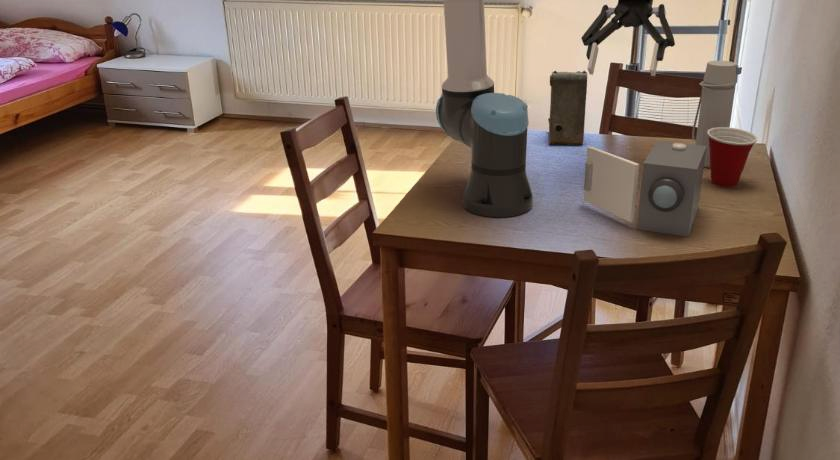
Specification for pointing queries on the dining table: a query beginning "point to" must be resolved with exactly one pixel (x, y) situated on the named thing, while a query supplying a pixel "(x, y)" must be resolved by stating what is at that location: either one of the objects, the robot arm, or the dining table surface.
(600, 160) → the side door
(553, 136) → the vintage camera
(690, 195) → the camera housing
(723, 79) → the water bottle
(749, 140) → the plastic cup
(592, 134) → the dining table surface
